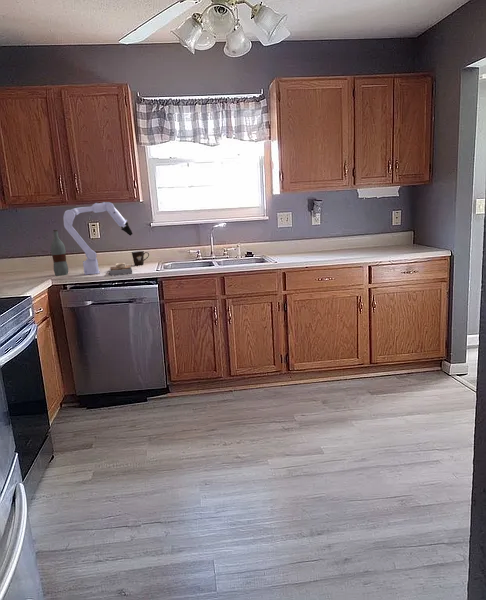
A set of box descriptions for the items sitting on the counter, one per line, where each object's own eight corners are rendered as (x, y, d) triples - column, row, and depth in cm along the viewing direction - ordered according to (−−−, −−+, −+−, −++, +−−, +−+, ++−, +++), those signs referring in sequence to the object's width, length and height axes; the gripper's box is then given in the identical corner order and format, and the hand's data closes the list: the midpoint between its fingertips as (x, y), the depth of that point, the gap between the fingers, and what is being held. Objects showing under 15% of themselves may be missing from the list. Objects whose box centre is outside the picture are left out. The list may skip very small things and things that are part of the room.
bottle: (61, 273, 318) (55, 229, 312) (72, 273, 315) (65, 228, 308) (51, 275, 310) (44, 230, 303) (62, 275, 306) (55, 230, 300)
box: (109, 275, 297) (109, 270, 296) (110, 273, 307) (109, 268, 306) (132, 273, 300) (131, 268, 299) (131, 271, 310) (131, 266, 309)
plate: (110, 273, 307) (109, 269, 307) (110, 270, 319) (110, 266, 318) (131, 271, 310) (131, 267, 310) (131, 268, 322) (131, 265, 321)
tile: (116, 268, 310) (115, 264, 309) (116, 267, 315) (115, 263, 315) (125, 267, 311) (124, 263, 310) (125, 266, 317) (124, 262, 316)
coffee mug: (131, 266, 334) (130, 252, 332) (134, 264, 342) (133, 250, 340) (147, 265, 333) (146, 251, 331) (150, 263, 342) (148, 250, 339)
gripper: (123, 215, 303) (136, 231, 308) (122, 212, 316) (135, 228, 321) (114, 222, 302) (128, 238, 308) (114, 219, 316) (127, 234, 321)
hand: (131, 233), depth 314 cm, fingers open, 7 cm apart
